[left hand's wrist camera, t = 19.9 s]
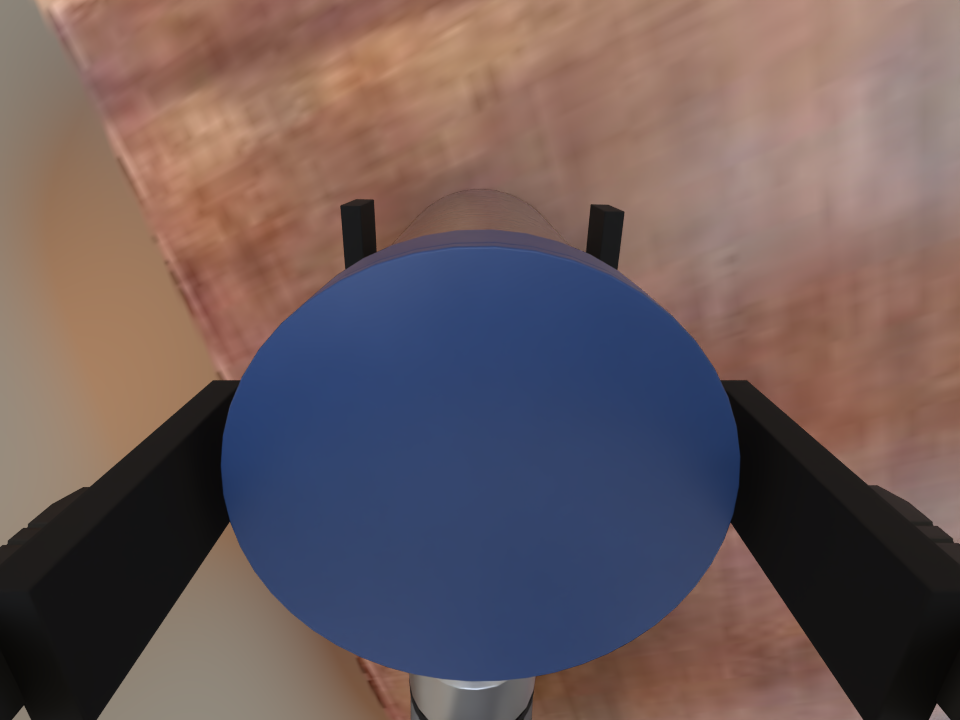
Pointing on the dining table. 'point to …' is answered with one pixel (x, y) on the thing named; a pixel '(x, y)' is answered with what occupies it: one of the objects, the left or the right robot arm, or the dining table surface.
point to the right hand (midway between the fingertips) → (482, 205)
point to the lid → (480, 458)
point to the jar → (480, 216)
